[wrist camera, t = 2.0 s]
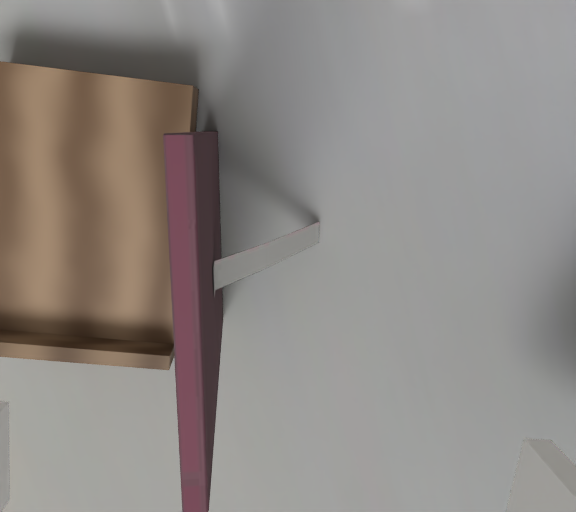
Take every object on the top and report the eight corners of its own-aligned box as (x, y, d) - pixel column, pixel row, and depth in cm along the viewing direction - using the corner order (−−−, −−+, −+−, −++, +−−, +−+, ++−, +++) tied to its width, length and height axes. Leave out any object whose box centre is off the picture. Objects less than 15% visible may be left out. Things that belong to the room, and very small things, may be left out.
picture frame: (204, 131, 44) (138, 133, 19) (320, 131, 44) (397, 134, 20) (210, 319, 48) (162, 515, 23) (317, 317, 48) (378, 507, 24)
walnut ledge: (198, 89, 43) (188, 82, 37) (180, 338, 48) (168, 370, 42) (9, 66, 42) (-34, 54, 35) (11, 324, 47) (-27, 354, 40)
